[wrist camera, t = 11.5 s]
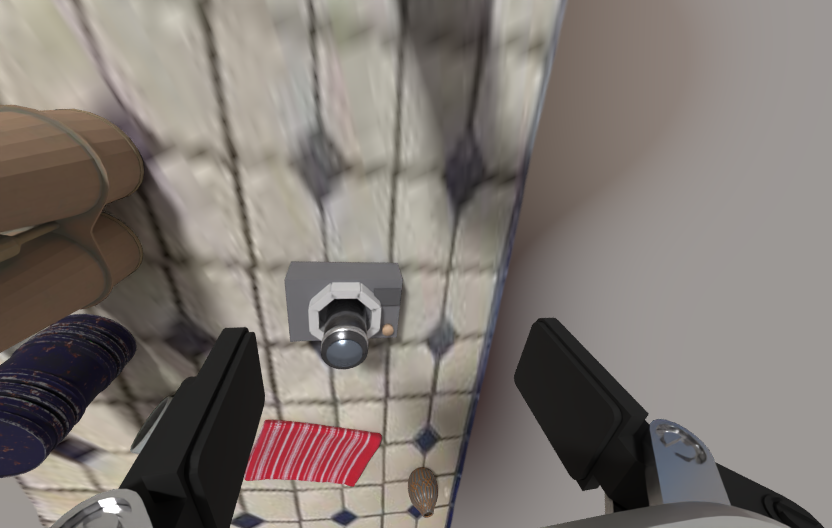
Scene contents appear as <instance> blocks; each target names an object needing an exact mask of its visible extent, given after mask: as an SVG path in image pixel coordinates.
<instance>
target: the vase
mask: <svg viewBox="0 0 832 528" xmlns="http://www.w3.org/2000/svg"><path fill="white" fill-rule="evenodd" d="M408 492H409V497H410V499H411V502H412V504H413V505H414V506H415V507H416V508H417V509H418V510H419V511H420V513H421V514H422V516H423V517H425V518H427V517H430V516H432V515H433V513H434V507H435V505H436V502H437V498H438V485H437V481H436V478H435V476H434V474H433V473H432V472H431V471H430V470H429V469H427V468H424V467H422V468H418V469H415V470H414V471H413V472H412V474H411V475H410V478H409V481H408Z"/></svg>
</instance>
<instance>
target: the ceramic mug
mask: <svg viewBox="0 0 832 528" xmlns="http://www.w3.org/2000/svg"><path fill="white" fill-rule="evenodd" d="M172 399H173V397H170V396H169V397H166V398H165V399H164V400H163V401H162V402H161V403H160V404H159V405H158V406H157V407H156V408H155V410H154V411H153V412H152V413H151V415H150V416H149V418H148V419H147V420H146V422H145V423H144V425H143V426H142V428H141V429H140V431H139V433H138V434H137V436H136V438H135V440H134V441H133V444H132V445H131V449H130V451H131V452H132V453H136V454H140V452H141V450H142V449H143V447H144V445H145V444H146V442H147V440H148V439H149V437H150V435H151V434H152V432H153V430H154V429H155V427H156V425H157V424H158V422H159V420H160V419H161V417H162V415H163V414H164V412H165V410H166V409H167V407H168V405H169V404H170V402H171V400H172Z"/></svg>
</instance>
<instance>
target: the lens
mask: <svg viewBox="0 0 832 528" xmlns="http://www.w3.org/2000/svg"><path fill="white" fill-rule="evenodd" d="M367 353H368V338H367V326H366V309H365V305H364V304H363V303H362V302H361V301H360V300H358V299H357V298H354V299H334V300H332V301H331V302H330V303H329V305H328V307H327V313H326V320H325V328H324V335H323V338H322V343H321V356H322V359H323V360H324V362H325V363H326V364H327V365H329V366H331V367H333V368H336V369H350V368H353V367H356V366H358V365H359V364H361V363H362V362H363V361H364V360H365V358H366V356H367Z"/></svg>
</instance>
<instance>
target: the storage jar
mask: <svg viewBox="0 0 832 528" xmlns="http://www.w3.org/2000/svg"><path fill="white" fill-rule="evenodd" d="M135 352H136V342H135V339H134V337H133V336H132V334H131V333H130V332H129V331H128V330H127V329H126V328H125V327H123V326H122V325H120V324H119V323H117V322H115V321H113V320H110V319H108V318H105V317H101V316H97V315H91V314H74V315H69V316H66V317H64V318H63V319H61V320H59V321H57V322H55V323H53V324H52V325H50V326H49V327H48V328H46V329H45V330H43V331H40V332H39V333H37V334H36V335H35V336H33V337H32V338H31V339H29V340H28V341H27V342H26V343H24V344H23V345H21V346H20V347H19V348H18V349H17V350H16V351H15V352H14V353H13V354H12V356H11V358H9V359H8V360H7V361H5V362H4V363H2V364H1V365H0V478H3V477H11V476H16V475H20V474H24V473H27V472H29V471H31V470H33V469H35V468H36V467H38V466H39V465H40V464H41V463H42V462H43V461H44V460H45V459H46V458H47V456H48V455H49V454H50V452H51V451H52V450H53V449H54V448H55V447H56V446H57V445H58V444H59V443H60V442H61V441H62V440H63V439H64V438H65V437H66V436H67V435H68V433H69V432H70V431H71V430H72V428H73V427H74V425H76V424H77V423H78V422H79V421H80V419H81V418H82V416H83V414H84V413H85V410H86V408H87V406H88V405H89V404H90V403H91V402H92V401H93V399H94V398H95V397H96V396H97V395H98V394H99V393H100V392H102V391H103V390H105V389H106V388H107V387H108V386H109V385H110V384H111V382H112V381H113V380H114V379H115V378H116V377H117V376H118V375H119V374H120V372H121V371H122V370H123V368H124V366H125V365H126V364H127V362H128V361H130V359H131V358H132V357H133V356H134V354H135Z"/></svg>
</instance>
